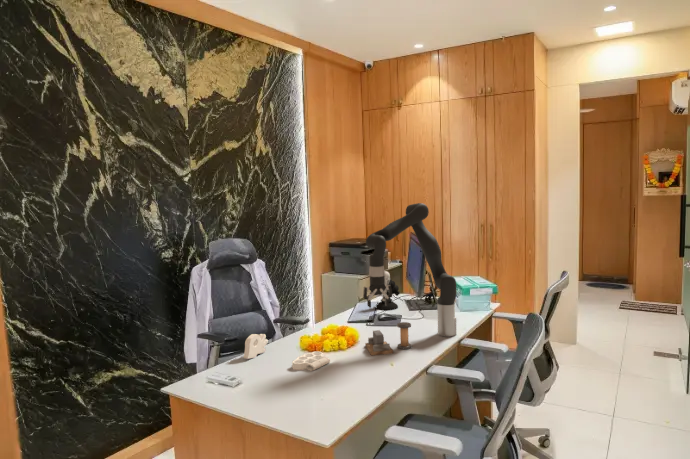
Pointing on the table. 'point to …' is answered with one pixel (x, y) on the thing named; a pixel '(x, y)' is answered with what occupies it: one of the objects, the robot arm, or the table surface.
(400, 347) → the bobbin
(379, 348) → the terminal board
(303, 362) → the beige block with wells
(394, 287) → the sculpture
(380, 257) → the robot arm
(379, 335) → the grey brown rectangular block
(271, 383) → the table surface
